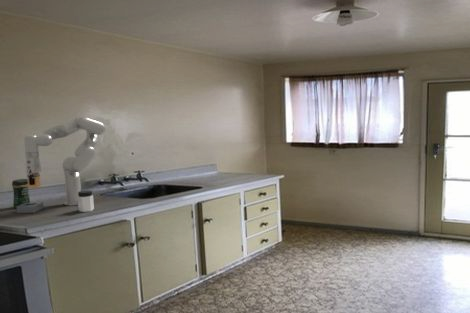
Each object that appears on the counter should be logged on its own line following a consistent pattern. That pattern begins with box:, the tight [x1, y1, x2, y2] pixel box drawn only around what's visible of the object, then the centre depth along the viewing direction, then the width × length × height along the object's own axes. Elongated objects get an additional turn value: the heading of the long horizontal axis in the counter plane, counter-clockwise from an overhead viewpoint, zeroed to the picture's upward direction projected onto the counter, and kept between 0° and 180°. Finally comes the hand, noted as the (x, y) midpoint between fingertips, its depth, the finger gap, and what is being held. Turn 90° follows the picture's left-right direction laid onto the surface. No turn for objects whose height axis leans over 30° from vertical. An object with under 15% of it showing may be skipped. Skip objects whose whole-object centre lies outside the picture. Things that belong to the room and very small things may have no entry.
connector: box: [26, 173, 41, 189], centre depth 245 cm, size 6×4×8 cm
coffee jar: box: [11, 178, 31, 209], centre depth 259 cm, size 10×8×19 cm
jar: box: [77, 189, 95, 213], centre depth 245 cm, size 9×8×12 cm
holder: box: [15, 201, 44, 214], centre depth 249 cm, size 11×11×4 cm
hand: (34, 183), depth 245 cm, fingers closed on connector, 4 cm apart
